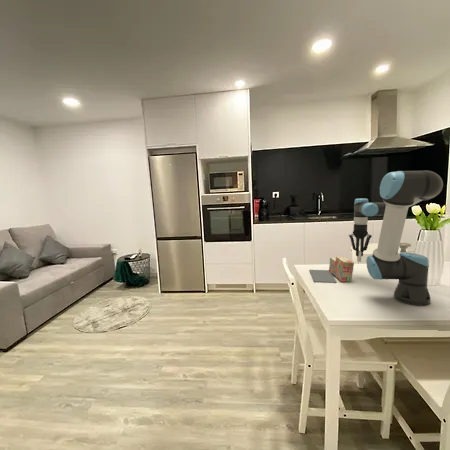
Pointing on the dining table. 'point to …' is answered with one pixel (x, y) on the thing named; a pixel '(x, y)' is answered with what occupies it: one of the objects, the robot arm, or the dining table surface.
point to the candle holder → (404, 246)
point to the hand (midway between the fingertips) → (359, 261)
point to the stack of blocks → (341, 268)
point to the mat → (322, 276)
